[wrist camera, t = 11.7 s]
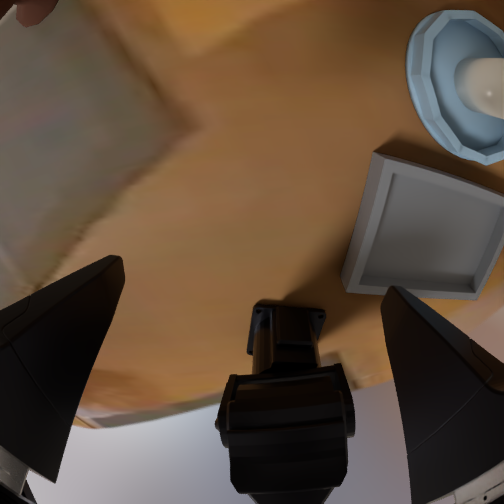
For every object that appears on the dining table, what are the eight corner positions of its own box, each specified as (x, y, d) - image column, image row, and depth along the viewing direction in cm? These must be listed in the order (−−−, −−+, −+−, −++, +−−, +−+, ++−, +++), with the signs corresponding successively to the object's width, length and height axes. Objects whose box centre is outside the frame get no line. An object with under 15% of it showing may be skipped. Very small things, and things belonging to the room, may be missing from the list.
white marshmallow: (488, 120, 15) (521, 130, 12) (450, 100, 15) (484, 106, 11) (494, 72, 13) (527, 75, 9) (456, 49, 13) (489, 46, 9)
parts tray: (466, 287, 24) (476, 300, 22) (340, 276, 23) (345, 292, 21) (504, 194, 18) (519, 203, 17) (373, 151, 18) (384, 158, 16)
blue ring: (501, 175, 18) (516, 183, 16) (393, 134, 17) (406, 139, 15) (518, 53, 11) (533, 54, 10) (409, -14, 11) (422, -21, 9)
